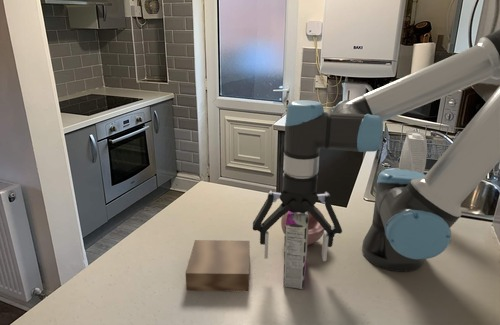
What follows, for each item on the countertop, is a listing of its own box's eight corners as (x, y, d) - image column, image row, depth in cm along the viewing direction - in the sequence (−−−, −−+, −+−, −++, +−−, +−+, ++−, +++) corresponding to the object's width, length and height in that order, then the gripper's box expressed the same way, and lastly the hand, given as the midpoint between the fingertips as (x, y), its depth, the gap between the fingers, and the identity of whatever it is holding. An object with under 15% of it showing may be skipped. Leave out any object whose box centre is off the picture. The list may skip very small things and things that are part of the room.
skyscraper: (405, 221, 118) (419, 134, 109) (386, 210, 125) (398, 127, 116) (425, 216, 121) (440, 131, 112) (405, 206, 128) (418, 125, 119)
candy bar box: (287, 260, 97) (289, 201, 92) (306, 262, 96) (310, 203, 91) (281, 287, 87) (284, 223, 82) (303, 290, 86) (307, 226, 81)
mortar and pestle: (296, 258, 98) (298, 218, 94) (272, 237, 108) (273, 200, 104) (333, 247, 103) (336, 209, 99) (307, 227, 113) (309, 192, 110)
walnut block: (249, 257, 99) (249, 240, 97) (248, 292, 86) (248, 273, 84) (195, 257, 99) (194, 240, 98) (186, 292, 86) (185, 273, 84)
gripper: (354, 168, 86) (345, 249, 93) (244, 165, 87) (243, 245, 94) (362, 181, 79) (351, 268, 86) (242, 177, 80) (241, 263, 87)
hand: (294, 256), depth 90 cm, fingers open, 13 cm apart
